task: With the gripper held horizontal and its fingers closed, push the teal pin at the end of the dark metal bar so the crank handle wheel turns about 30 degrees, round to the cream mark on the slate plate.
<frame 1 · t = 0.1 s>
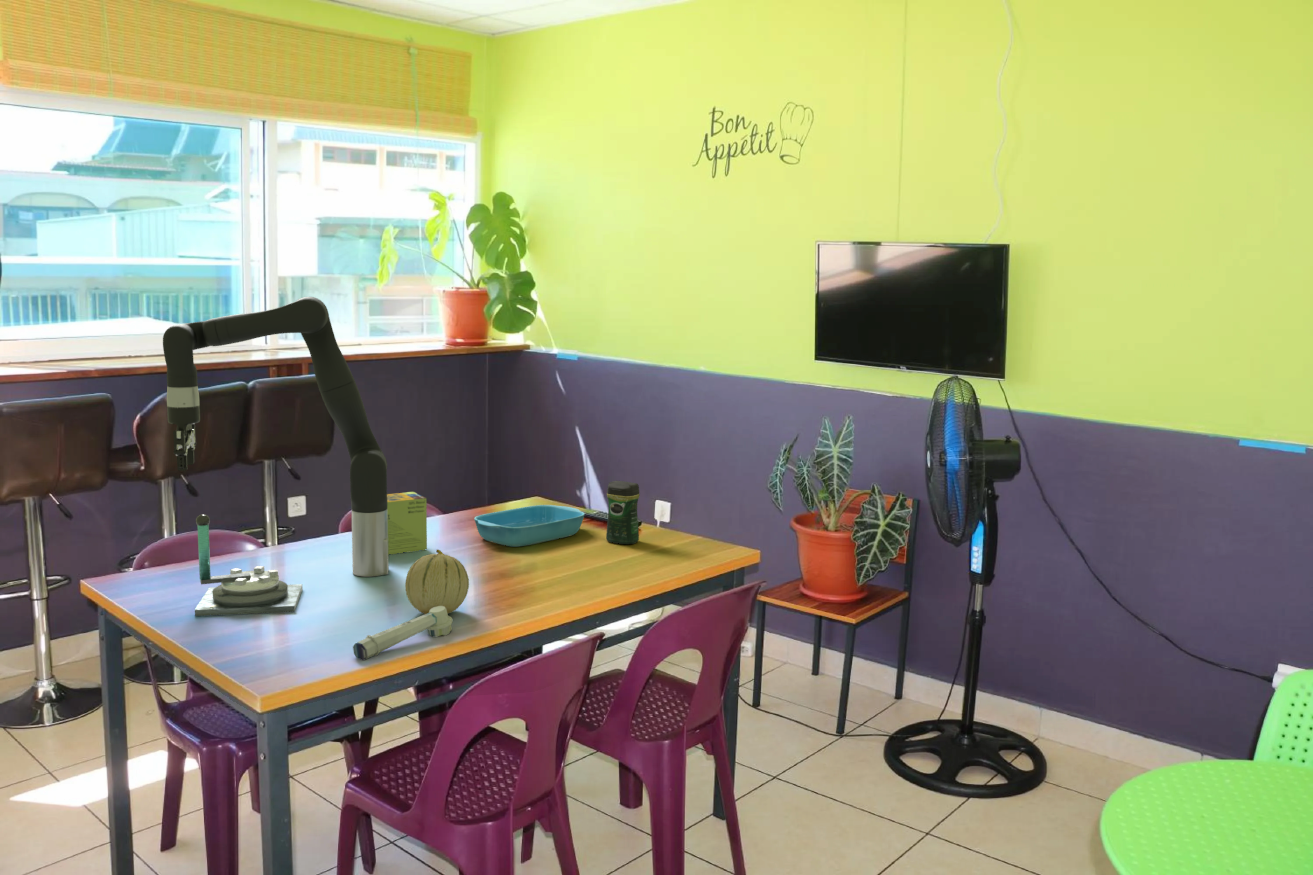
hand: (186, 467, 276), 29 cm above the table, tool pointing down, fingers open, 8 cm apart
beige piece: (405, 645, 236), on the table
crank handle wheel: (238, 550, 259), point 13 cm above the table, hinge at 0.0°
coffee jar: (622, 542, 329), on the table
protein box: (395, 549, 314), on the table
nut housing: (250, 602, 262), on the table
casserole dish: (530, 537, 333), on the table
cantaloupe: (437, 614, 257), on the table
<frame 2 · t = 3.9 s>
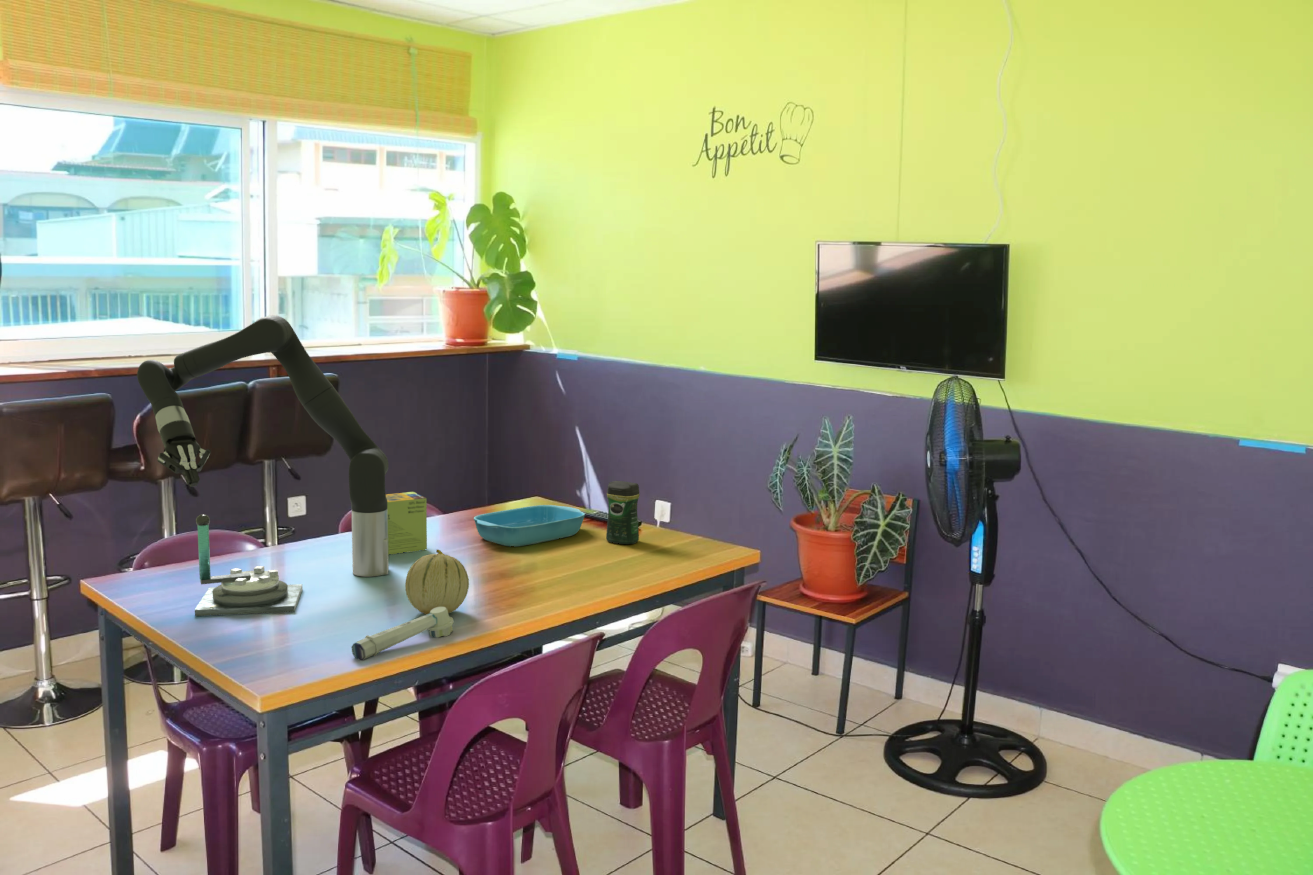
hand: (194, 484, 265), 27 cm above the table, tool tilted 45°, fingers closed
nothing on the table moved.
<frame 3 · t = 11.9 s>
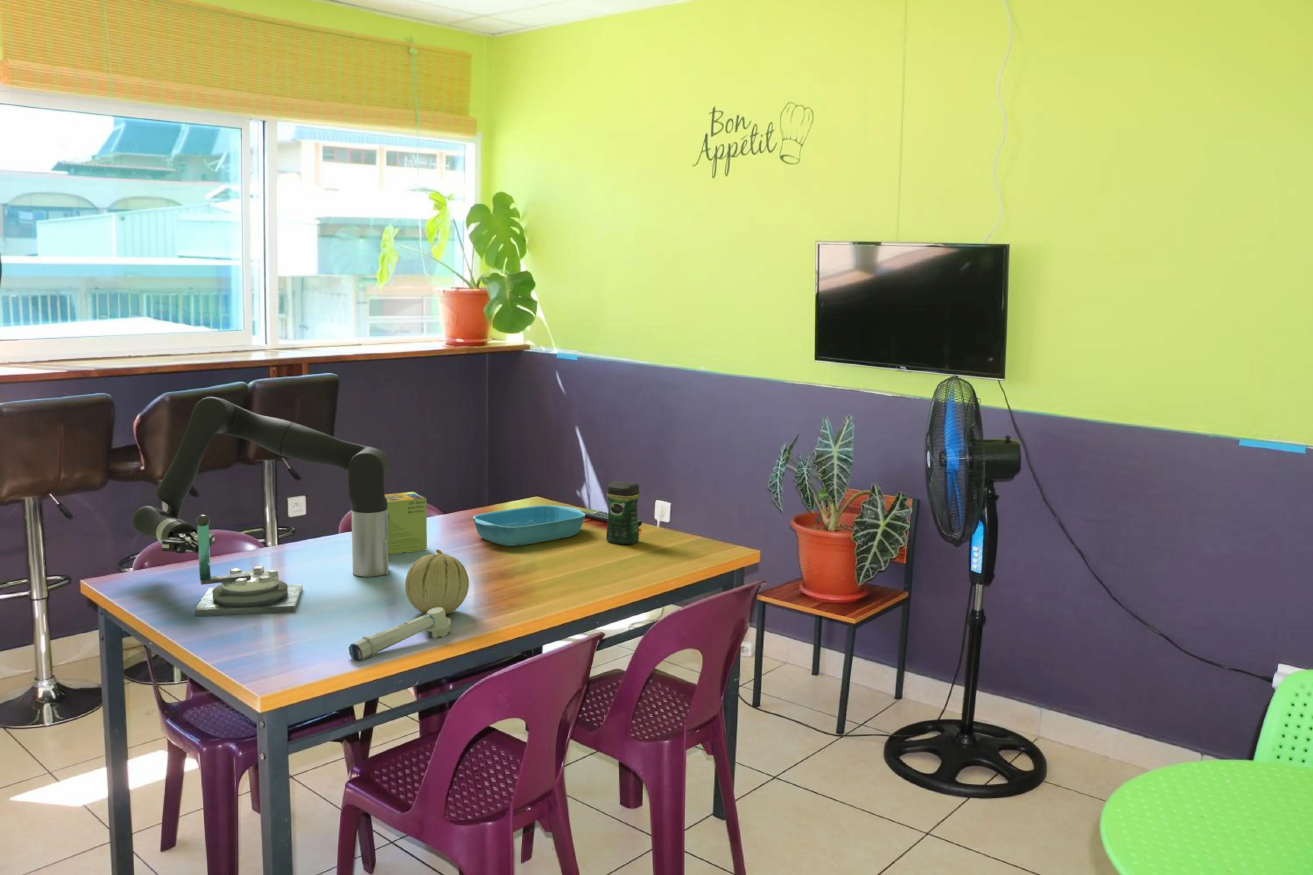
hand: (201, 549, 256), 14 cm above the table, tool horizontal, fingers closed
crank handle wheel: (238, 550, 259), point 13 cm above the table, hinge at 1.2°, touching gripper
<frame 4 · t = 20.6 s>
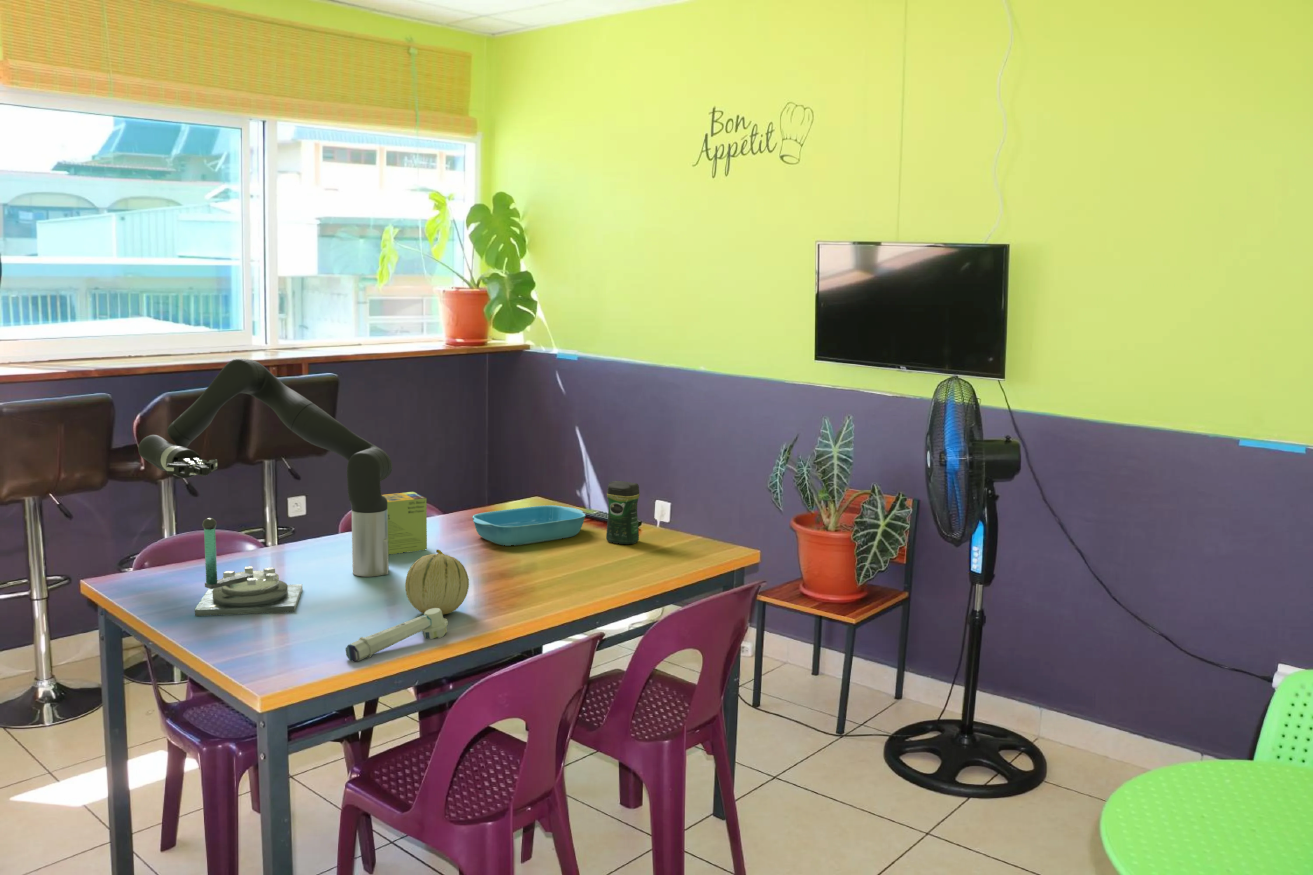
hand: (205, 471, 267), 30 cm above the table, tool horizontal, fingers closed
crank handle wheel: (239, 551, 258), point 13 cm above the table, hinge at 26.6°
at the end: crank handle wheel at +27° (first picture: +0°) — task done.
